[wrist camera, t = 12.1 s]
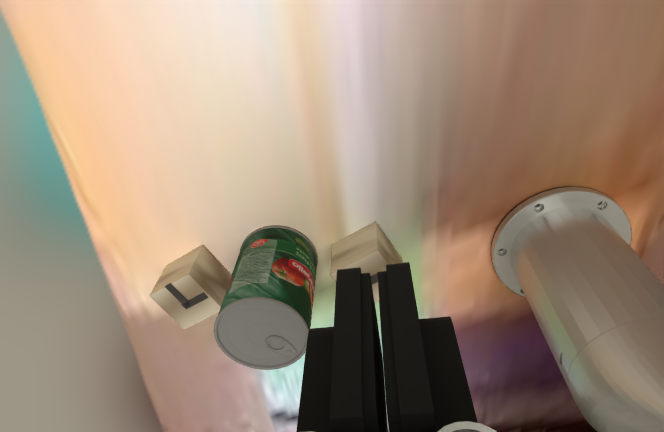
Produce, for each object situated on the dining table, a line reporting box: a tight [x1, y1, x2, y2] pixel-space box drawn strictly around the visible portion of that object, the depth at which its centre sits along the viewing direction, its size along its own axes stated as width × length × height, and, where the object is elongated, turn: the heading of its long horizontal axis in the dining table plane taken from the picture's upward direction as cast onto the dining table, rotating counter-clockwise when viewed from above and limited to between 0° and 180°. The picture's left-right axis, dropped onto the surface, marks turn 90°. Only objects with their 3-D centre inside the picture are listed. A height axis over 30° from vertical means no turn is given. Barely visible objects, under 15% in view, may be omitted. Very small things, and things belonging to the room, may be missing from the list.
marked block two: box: [150, 245, 232, 330], centre depth 48 cm, size 5×5×5 cm
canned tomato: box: [214, 226, 318, 370], centre depth 44 cm, size 8×8×11 cm
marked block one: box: [330, 221, 402, 303], centre depth 46 cm, size 5×5×5 cm
